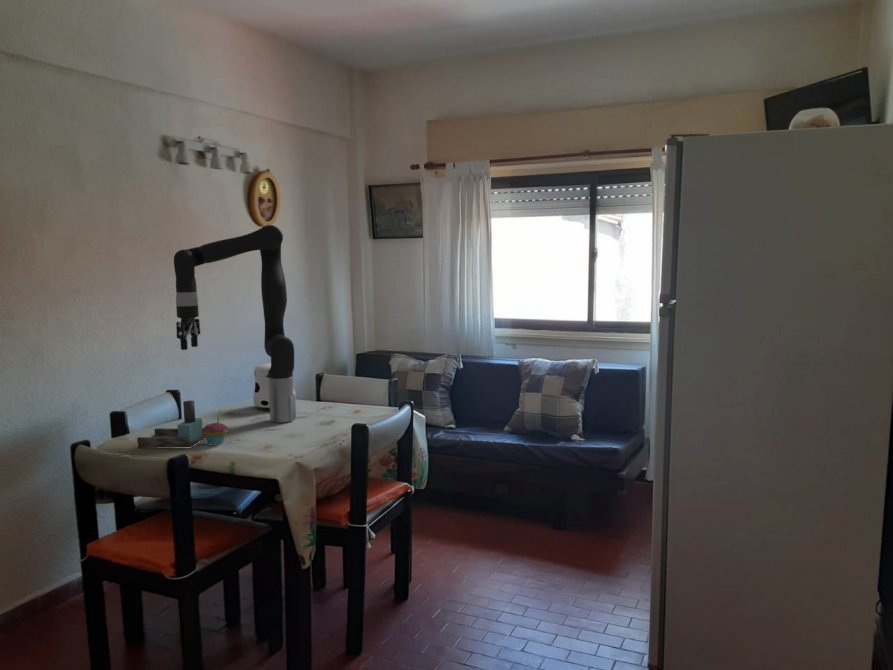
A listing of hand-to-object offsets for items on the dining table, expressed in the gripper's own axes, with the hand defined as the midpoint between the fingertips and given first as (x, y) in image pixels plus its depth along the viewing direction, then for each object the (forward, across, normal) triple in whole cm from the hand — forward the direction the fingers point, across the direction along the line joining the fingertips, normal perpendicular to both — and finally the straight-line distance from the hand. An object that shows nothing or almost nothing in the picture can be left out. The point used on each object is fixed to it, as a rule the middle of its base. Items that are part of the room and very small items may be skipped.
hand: (189, 348), depth 244 cm
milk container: (+30, +34, -20) cm, 50 cm away
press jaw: (+28, -21, -8) cm, 36 cm away
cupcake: (+30, -21, -17) cm, 41 cm away
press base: (+30, -21, -2) cm, 37 cm away
